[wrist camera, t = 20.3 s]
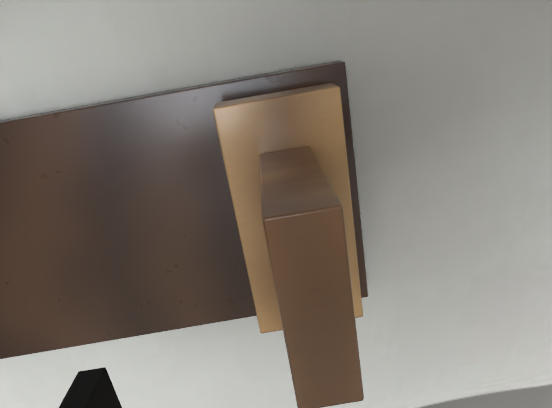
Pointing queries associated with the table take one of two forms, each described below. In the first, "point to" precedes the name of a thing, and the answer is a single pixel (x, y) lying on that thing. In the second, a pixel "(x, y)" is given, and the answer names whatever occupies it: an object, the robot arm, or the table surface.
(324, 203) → the tan slab with handle
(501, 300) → the table surface
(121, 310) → the board
